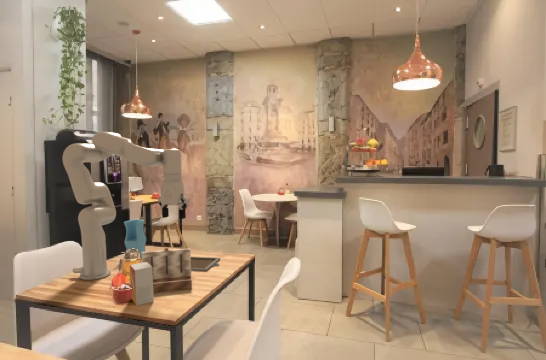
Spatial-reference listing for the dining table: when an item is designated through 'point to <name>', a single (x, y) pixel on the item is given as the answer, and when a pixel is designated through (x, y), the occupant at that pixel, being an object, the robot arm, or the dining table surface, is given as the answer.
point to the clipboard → (203, 263)
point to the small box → (141, 283)
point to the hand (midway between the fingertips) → (173, 218)
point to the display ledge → (170, 269)
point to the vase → (135, 235)
